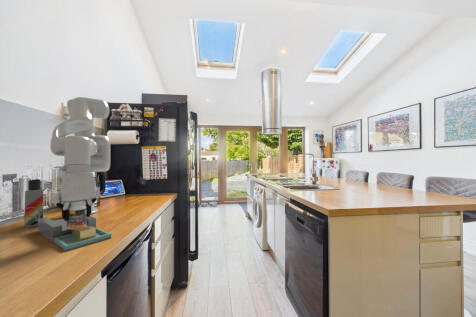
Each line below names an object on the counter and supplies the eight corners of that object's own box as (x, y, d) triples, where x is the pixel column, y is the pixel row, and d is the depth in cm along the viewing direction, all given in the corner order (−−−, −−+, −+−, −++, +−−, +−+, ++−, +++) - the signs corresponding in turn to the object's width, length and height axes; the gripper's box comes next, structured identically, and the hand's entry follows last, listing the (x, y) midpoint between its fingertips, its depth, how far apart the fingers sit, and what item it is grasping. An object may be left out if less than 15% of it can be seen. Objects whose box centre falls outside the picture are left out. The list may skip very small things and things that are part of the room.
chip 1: (71, 238, 70) (72, 228, 70) (86, 234, 74) (87, 225, 74) (75, 241, 68) (76, 230, 68) (91, 237, 72) (91, 227, 72)
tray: (53, 242, 68) (53, 237, 68) (97, 231, 79) (97, 227, 79) (65, 251, 61) (65, 246, 61) (111, 237, 72) (111, 233, 72)
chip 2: (76, 229, 68) (80, 231, 66) (91, 226, 72) (95, 227, 70) (76, 241, 68) (79, 243, 66) (91, 237, 72) (95, 239, 70)
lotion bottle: (30, 227, 83) (31, 179, 84) (20, 226, 85) (21, 179, 85) (46, 223, 89) (47, 178, 89) (36, 222, 90) (37, 178, 90)
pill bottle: (66, 231, 70) (66, 202, 70) (67, 226, 74) (67, 200, 74) (86, 227, 73) (86, 200, 73) (86, 223, 78) (86, 198, 78)
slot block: (37, 231, 79) (38, 218, 79) (77, 222, 90) (78, 211, 90) (52, 241, 69) (52, 227, 69) (95, 230, 79) (96, 218, 79)
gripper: (49, 170, 65) (48, 226, 65) (107, 169, 79) (107, 214, 79) (43, 170, 69) (42, 222, 69) (99, 168, 83) (98, 211, 83)
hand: (77, 217), depth 74 cm, fingers closed on pill bottle, 5 cm apart
